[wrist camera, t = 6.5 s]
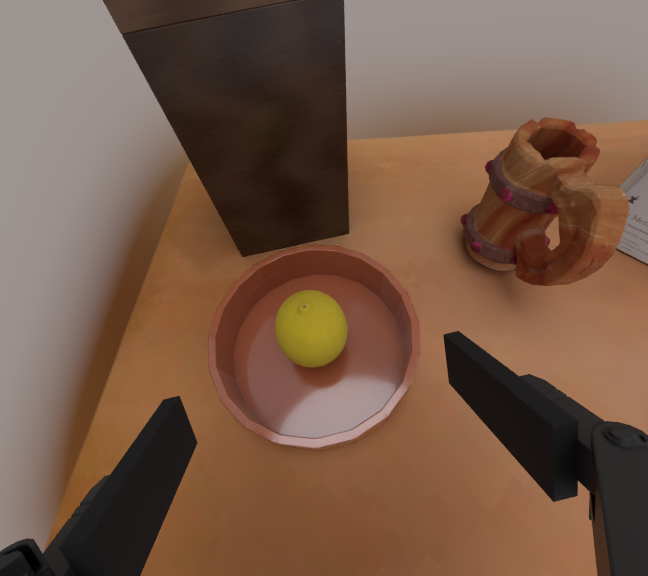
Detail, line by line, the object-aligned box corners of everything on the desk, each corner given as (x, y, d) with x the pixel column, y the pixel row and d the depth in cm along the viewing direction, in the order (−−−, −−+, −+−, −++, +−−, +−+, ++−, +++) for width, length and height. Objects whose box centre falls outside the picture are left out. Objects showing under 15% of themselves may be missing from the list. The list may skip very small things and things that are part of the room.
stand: (242, 257, 33) (121, 34, 16) (235, 183, 39) (142, -36, 22) (349, 233, 34) (344, -10, 16) (326, 164, 40) (304, -67, 22)
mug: (447, 221, 33) (493, 102, 22) (512, 215, 33) (591, 91, 22) (480, 326, 27) (566, 234, 16) (560, 321, 27) (705, 223, 16)
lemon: (357, 330, 28) (358, 285, 21) (333, 388, 25) (325, 360, 18) (302, 309, 29) (286, 262, 22) (275, 363, 27) (247, 328, 20)
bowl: (234, 472, 23) (210, 474, 19) (224, 291, 31) (206, 267, 27) (440, 422, 24) (456, 414, 20) (378, 257, 32) (381, 228, 28)
